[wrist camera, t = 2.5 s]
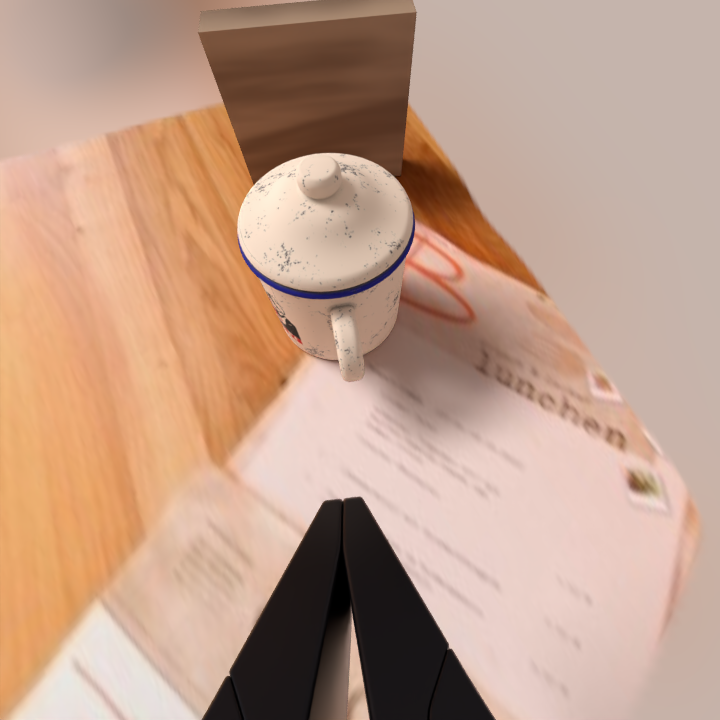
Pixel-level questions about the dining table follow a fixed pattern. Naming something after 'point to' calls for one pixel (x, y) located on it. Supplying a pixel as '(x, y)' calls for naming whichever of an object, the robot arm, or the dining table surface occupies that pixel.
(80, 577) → the dining table surface
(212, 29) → the bookend
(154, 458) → the dining table surface
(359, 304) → the teacup with lid
